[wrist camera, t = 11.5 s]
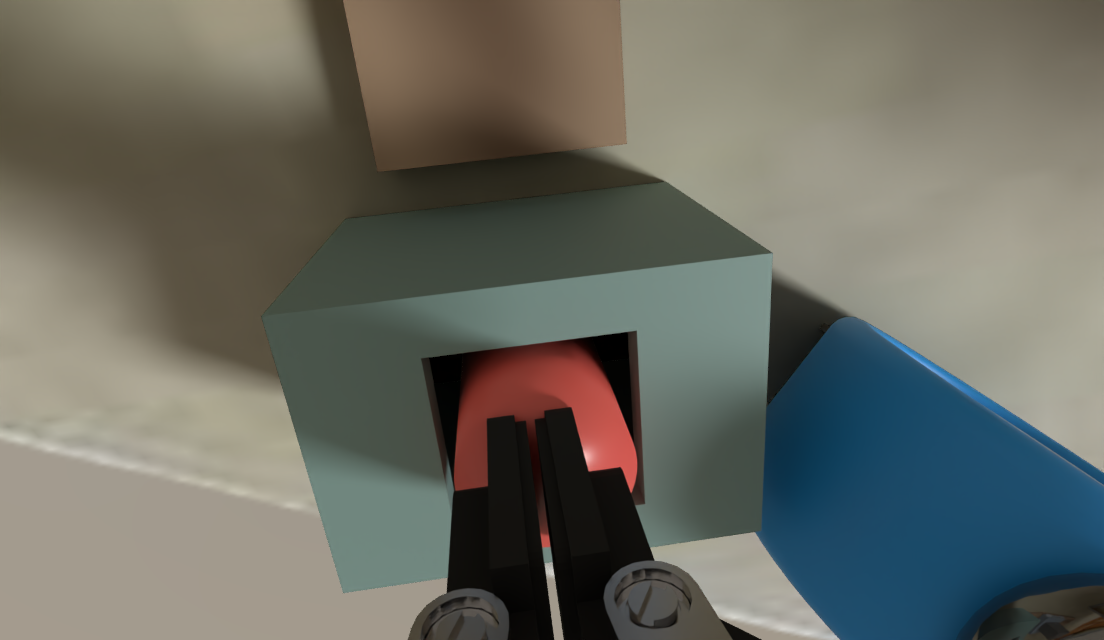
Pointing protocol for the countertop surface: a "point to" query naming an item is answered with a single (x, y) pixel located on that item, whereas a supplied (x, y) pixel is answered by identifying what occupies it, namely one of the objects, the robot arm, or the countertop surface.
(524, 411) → the plunger
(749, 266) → the cabinet
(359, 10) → the rail plank
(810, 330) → the countertop surface
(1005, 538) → the alarm clock
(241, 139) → the countertop surface
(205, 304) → the countertop surface
